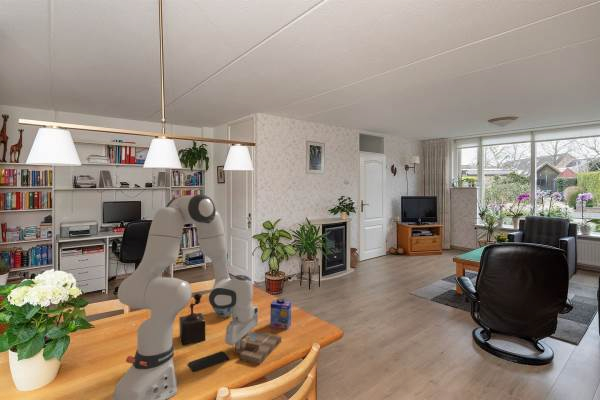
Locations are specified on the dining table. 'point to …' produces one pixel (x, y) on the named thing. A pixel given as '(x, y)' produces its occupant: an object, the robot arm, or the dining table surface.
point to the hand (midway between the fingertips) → (242, 345)
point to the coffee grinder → (192, 325)
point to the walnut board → (261, 348)
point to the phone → (208, 361)
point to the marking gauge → (247, 344)
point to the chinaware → (223, 311)
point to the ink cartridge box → (280, 314)
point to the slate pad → (254, 336)
